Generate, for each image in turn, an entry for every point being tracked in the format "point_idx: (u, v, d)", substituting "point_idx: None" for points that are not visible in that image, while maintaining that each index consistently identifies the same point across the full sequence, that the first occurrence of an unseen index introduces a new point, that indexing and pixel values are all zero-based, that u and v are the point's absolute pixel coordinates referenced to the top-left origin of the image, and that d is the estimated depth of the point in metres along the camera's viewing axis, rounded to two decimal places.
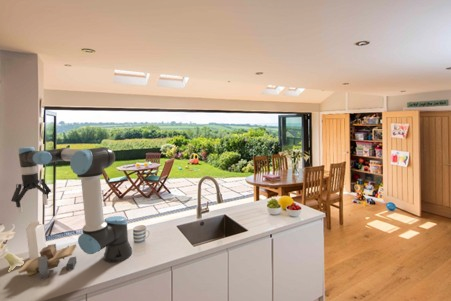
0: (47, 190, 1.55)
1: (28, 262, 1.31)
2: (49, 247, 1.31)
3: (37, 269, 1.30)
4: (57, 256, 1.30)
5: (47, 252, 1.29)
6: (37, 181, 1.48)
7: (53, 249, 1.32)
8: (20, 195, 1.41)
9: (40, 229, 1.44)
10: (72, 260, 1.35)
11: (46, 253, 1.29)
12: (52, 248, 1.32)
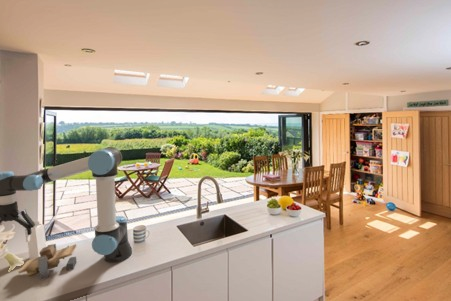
0: None
1: (28, 262, 1.31)
2: (49, 247, 1.31)
3: (37, 269, 1.30)
4: (57, 256, 1.30)
5: (47, 252, 1.29)
6: (14, 213, 1.24)
7: (53, 249, 1.32)
8: None
9: (40, 229, 1.44)
10: (72, 260, 1.35)
11: (46, 253, 1.29)
12: (52, 248, 1.32)
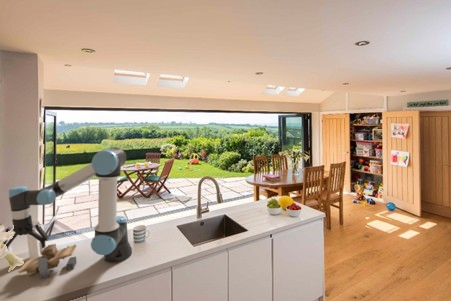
0: None
1: (28, 262, 1.31)
2: (50, 247, 1.32)
3: (37, 269, 1.30)
4: (57, 256, 1.30)
5: (49, 251, 1.29)
6: (29, 227, 1.26)
7: (54, 249, 1.33)
8: (9, 240, 1.25)
9: None
10: (72, 260, 1.35)
11: (48, 253, 1.29)
12: (53, 248, 1.32)
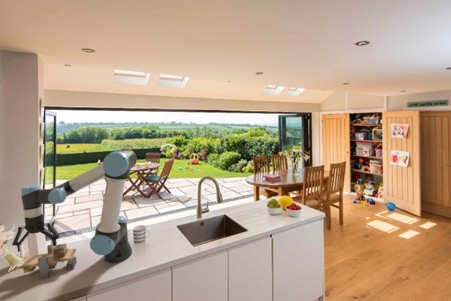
0: None
1: (26, 259, 1.30)
2: (62, 245, 1.33)
3: (33, 267, 1.30)
4: (57, 258, 1.30)
5: (60, 250, 1.31)
6: (41, 225, 1.28)
7: (65, 248, 1.34)
8: (21, 239, 1.26)
9: None
10: (72, 260, 1.35)
11: (58, 251, 1.31)
12: (65, 247, 1.34)
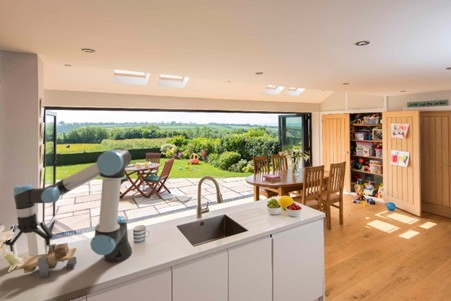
0: None
1: (27, 259, 1.30)
2: (63, 245, 1.33)
3: (34, 268, 1.30)
4: (57, 258, 1.30)
5: (61, 249, 1.31)
6: (34, 225, 1.27)
7: (66, 247, 1.34)
8: (14, 238, 1.25)
9: (40, 229, 1.44)
10: (72, 260, 1.35)
11: (60, 251, 1.31)
12: (66, 246, 1.34)
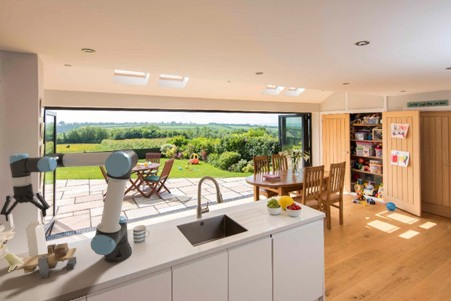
0: None
1: (27, 260, 1.30)
2: (63, 245, 1.33)
3: (34, 268, 1.30)
4: (57, 258, 1.30)
5: (61, 249, 1.31)
6: (30, 195, 1.25)
7: (66, 247, 1.34)
8: (9, 208, 1.23)
9: (40, 229, 1.44)
10: (72, 260, 1.35)
11: (60, 251, 1.31)
12: (66, 246, 1.34)
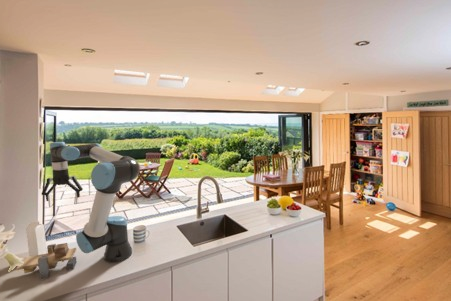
0: None
1: (27, 260, 1.30)
2: (63, 245, 1.33)
3: (34, 268, 1.30)
4: (57, 258, 1.30)
5: (61, 249, 1.31)
6: (66, 178, 1.43)
7: (66, 247, 1.34)
8: (49, 189, 1.42)
9: (40, 229, 1.44)
10: (72, 260, 1.35)
11: (60, 251, 1.31)
12: (66, 246, 1.34)
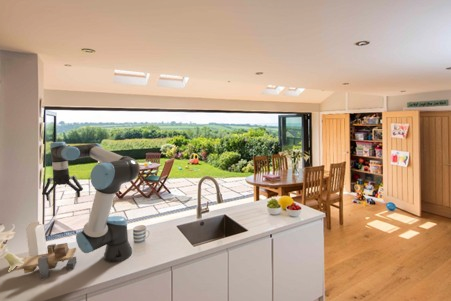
0: None
1: (27, 260, 1.30)
2: (63, 245, 1.33)
3: (34, 268, 1.30)
4: (57, 258, 1.30)
5: (61, 249, 1.31)
6: (67, 177, 1.44)
7: (66, 247, 1.34)
8: None
9: (40, 229, 1.44)
10: (72, 260, 1.35)
11: (60, 251, 1.31)
12: (66, 246, 1.34)
